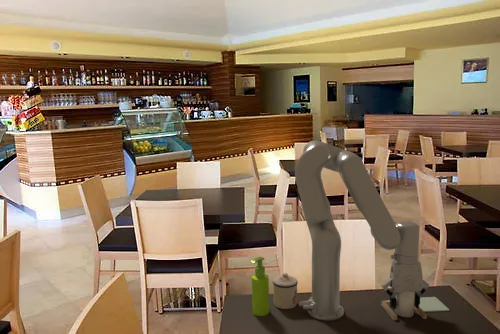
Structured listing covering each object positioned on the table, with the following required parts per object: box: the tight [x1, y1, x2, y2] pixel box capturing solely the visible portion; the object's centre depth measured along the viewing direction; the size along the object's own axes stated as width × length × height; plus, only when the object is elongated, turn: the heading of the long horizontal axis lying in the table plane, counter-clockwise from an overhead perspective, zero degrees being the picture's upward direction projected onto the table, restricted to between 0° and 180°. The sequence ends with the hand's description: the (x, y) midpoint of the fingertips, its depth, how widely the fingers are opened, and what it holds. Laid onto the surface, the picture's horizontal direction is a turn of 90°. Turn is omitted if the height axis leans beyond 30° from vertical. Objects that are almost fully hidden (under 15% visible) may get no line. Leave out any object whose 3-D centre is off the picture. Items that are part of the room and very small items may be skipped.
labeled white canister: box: [394, 292, 415, 318], centre depth 143 cm, size 6×8×9 cm
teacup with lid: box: [272, 272, 299, 310], centre depth 153 cm, size 12×9×12 cm
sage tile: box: [419, 296, 450, 313], centre depth 149 cm, size 10×10×1 cm
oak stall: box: [380, 299, 428, 321], centre depth 144 cm, size 11×11×2 cm
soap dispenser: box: [250, 256, 270, 317], centre depth 145 cm, size 6×7×20 cm
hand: (404, 306), depth 143 cm, fingers open, 7 cm apart
